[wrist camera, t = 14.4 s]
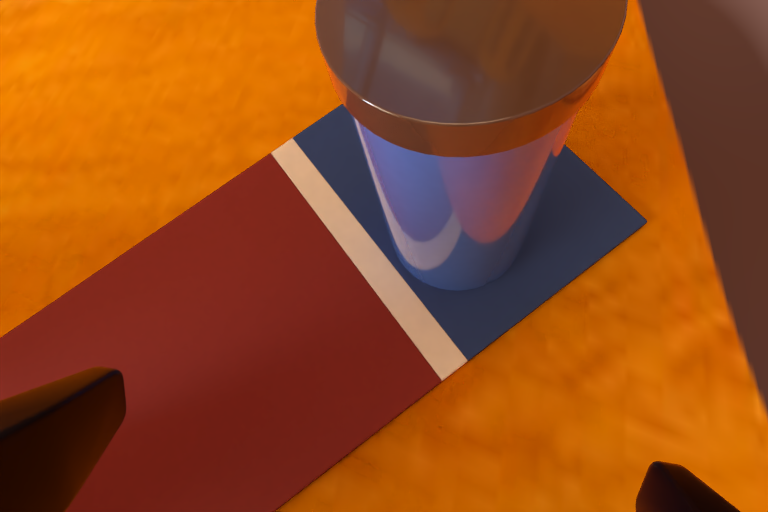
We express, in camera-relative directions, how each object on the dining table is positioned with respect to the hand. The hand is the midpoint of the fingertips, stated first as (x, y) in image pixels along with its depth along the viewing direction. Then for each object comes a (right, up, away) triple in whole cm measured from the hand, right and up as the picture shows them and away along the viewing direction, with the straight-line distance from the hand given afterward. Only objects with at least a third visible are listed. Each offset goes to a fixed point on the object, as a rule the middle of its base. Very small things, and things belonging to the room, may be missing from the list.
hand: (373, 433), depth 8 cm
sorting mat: (-7, -1, +14) cm, 16 cm away
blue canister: (+4, +4, +14) cm, 15 cm away
